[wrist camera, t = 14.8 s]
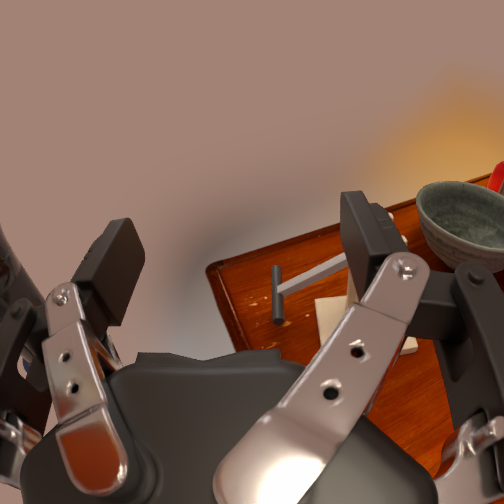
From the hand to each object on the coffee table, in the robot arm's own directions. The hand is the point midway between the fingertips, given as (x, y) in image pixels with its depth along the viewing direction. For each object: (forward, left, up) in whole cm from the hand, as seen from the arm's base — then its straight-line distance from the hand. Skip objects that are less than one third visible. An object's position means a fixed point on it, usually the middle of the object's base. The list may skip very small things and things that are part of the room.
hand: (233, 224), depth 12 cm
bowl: (+15, +38, -27) cm, 49 cm away
